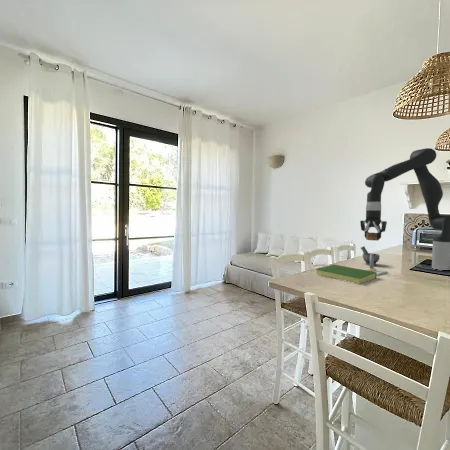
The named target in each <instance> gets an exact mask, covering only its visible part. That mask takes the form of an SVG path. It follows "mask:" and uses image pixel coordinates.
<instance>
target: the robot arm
mask: <svg viewBox="0 0 450 450" xmlns="http://www.w3.org/2000/svg"><path fill="white" fill-rule="evenodd" d="M409 155H410V156H409V159H406V160H404V161H401V162H399V163H396V164H393V165H391V166H389V167H387V168H384V169H383V170H381V171H378V172H376V173H373V174H371V175H369V176H368V177H367V178H365V181H364V184H365V185H364V186H366V187H367V188H371V189H370V191H369V192H367V194H366V206H365V220H360V228H361V229H360V230H361V231H362V232H364V238H365V239H366V233H370V232H369V230H370V229H371V228H375V230H376V231H377V232H376V233H377V239H379V240H380V239H381V238H382V233H384V232H386V229H387V224H388V221H385V220H384V221H383V220H382V219H381V217H382V193H383V191H384V187H385V182H389V181H392V180H394V179H396V178H398V177H399V176H401V175H404V174H405V173H408V172H410V171H412V170H413V171H414V173H415V177H416V178H417V181H418V185H419V187H420V191H421V195H422V197H423V201H424V203H425V206H426V211H427V216H428V217H427V218H428V221H429V224H430V225H429V226H431V228H432V229H433V230H437V231H439V230H440V231H441V233H440V234H438V235H434V236H433V237H432V250H431V252H432V253H431V255H432V256H431V269H432V268H433V269H432V270H435V269H438V270H437V271H442V270H450V214H440V210H439V205H440V202H441V200H442V198H443V195H444V192H443V188H442V185H441V183H440V181H439V180H438V179H437V178H436V176H434V175H433V174H432V173H431V172H430V171H429V168H428V165H430V164H432V163H433V162H434V161H435V160H436V159H437V152H436V150H435V149H433V148H430V147H428V148H422V149H417V150H413V151H412V152H411V153H410V154H409ZM365 224H366V225H365ZM380 224H381V225H380Z"/></svg>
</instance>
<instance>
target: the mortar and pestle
mask: <svg viewBox="0 0 450 450" xmlns="http://www.w3.org/2000/svg"><path fill="white" fill-rule="evenodd" d="M360 250H361V251H362V259H363V261H364V262H365V265H366V266H370V254H374V267H375V266H377V263H378V262H379V260H380V257H381V255H380V254H378V253H370V252H368V250H367V249H366V246H364V245H363V246H361V247H360Z"/></svg>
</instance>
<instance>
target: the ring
mask: <svg viewBox="0 0 450 450" xmlns="http://www.w3.org/2000/svg"><path fill="white" fill-rule="evenodd" d="M377 233H378V232H369V233H366V238H365V240H366V241H367V240H368V241H379V240H380V239H377Z"/></svg>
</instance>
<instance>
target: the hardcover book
mask: <svg viewBox="0 0 450 450" xmlns="http://www.w3.org/2000/svg"><path fill="white" fill-rule="evenodd" d="M317 274H319V275H318V276H321V275H323V276H322V277H325V276H328V277H327V278H329V277H332V278H331V279H334V278H336V279H335V280H338V279H341V280H340V281H343V280H346V281H345V282H347V281H350V282H349V283H351V282H354V283H353V284H356V283H358V284H357V285H360V283H361V284H364V283H366V282H365V281H367V282H370V281H372V280H374V279H375V280H376V279H377V276H376V275H377V272H372V271H367V270H361V268H354V267H349V266H345V265H340V264H339V265H338V264H331V265H327V266H323V267H319V268H316V275H317ZM363 282H364V283H363Z"/></svg>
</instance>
